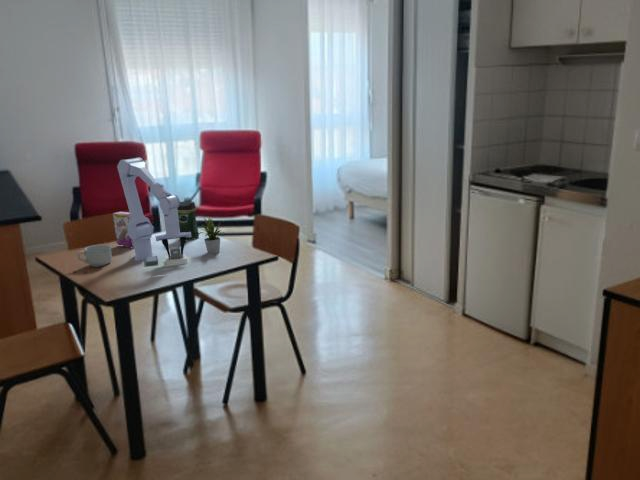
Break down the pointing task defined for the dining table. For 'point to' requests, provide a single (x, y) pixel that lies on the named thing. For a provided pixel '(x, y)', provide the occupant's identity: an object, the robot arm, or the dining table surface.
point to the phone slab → (151, 260)
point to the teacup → (96, 255)
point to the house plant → (212, 237)
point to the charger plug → (175, 253)
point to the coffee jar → (188, 219)
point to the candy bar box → (122, 228)
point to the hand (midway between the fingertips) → (175, 255)
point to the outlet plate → (168, 262)
